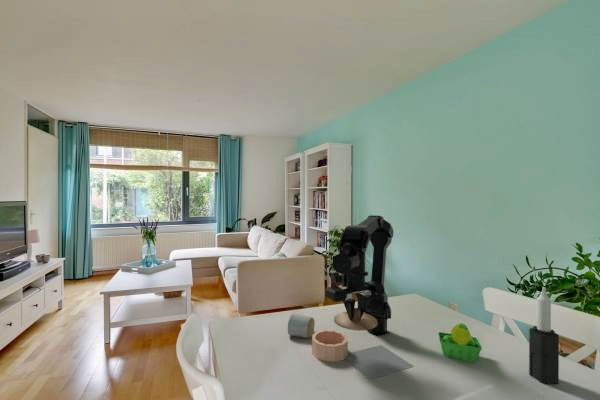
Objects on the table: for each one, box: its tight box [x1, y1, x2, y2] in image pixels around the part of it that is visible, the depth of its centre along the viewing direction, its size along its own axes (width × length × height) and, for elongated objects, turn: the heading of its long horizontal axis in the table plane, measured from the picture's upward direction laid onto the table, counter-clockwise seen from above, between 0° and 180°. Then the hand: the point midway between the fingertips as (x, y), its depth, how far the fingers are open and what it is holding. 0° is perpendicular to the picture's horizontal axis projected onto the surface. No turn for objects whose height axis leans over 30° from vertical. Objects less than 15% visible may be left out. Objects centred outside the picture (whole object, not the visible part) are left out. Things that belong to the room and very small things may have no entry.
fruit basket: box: [437, 322, 483, 363], centre depth 93 cm, size 11×9×11 cm
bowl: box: [311, 329, 349, 363], centre depth 93 cm, size 11×11×5 cm
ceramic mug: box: [287, 312, 315, 339], centre depth 107 cm, size 11×8×8 cm
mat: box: [344, 344, 415, 381], centre depth 89 cm, size 16×14×1 cm
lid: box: [333, 307, 377, 331], centre depth 91 cm, size 13×13×4 cm
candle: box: [528, 286, 560, 385], centre depth 81 cm, size 5×5×25 cm
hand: (355, 318), depth 91 cm, fingers closed on lid, 3 cm apart
